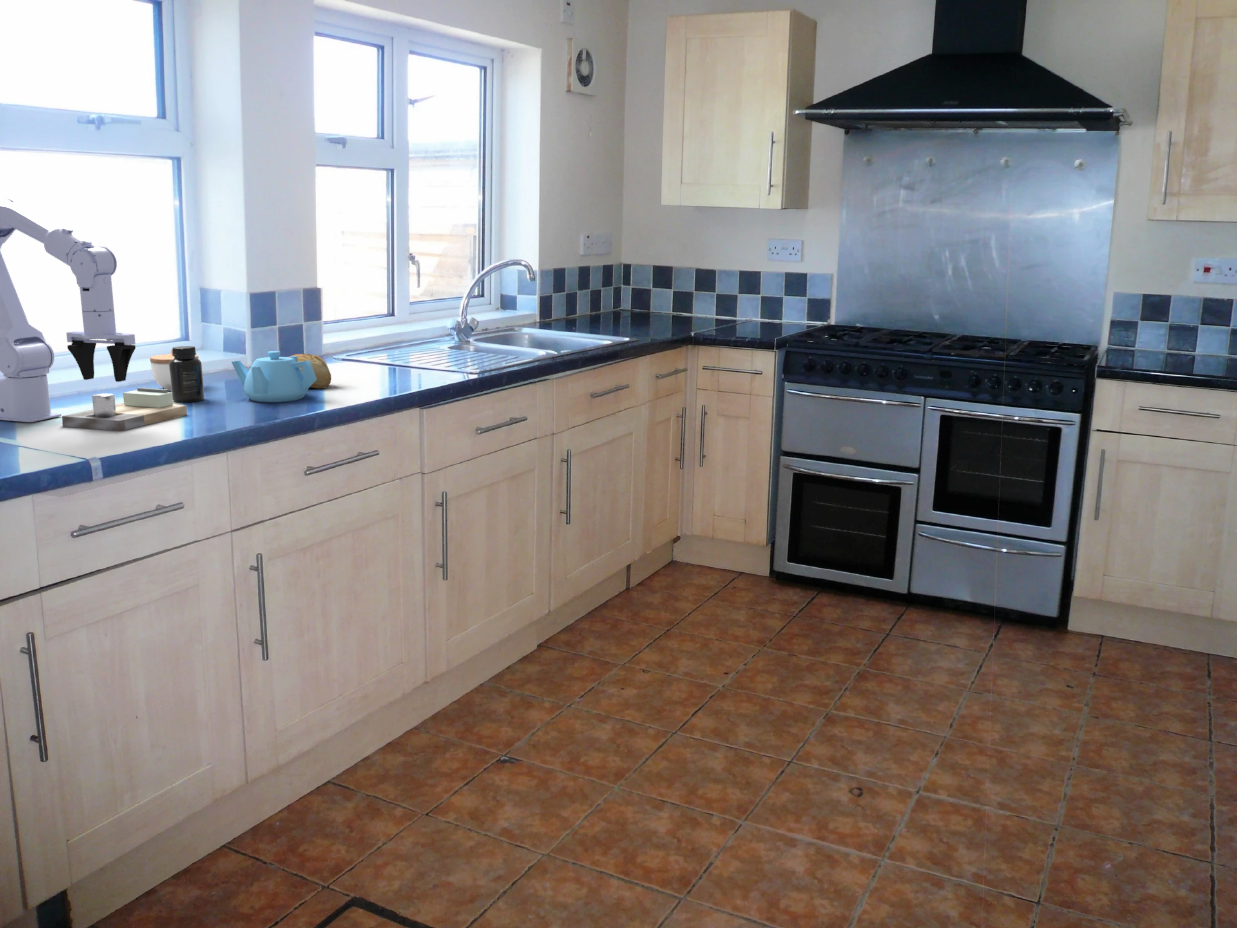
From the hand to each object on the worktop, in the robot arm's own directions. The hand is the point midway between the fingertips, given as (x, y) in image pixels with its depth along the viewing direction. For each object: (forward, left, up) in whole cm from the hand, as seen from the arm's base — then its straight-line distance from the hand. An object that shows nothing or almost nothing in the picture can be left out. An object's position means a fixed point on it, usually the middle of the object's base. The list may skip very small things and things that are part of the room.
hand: (104, 380), depth 220 cm
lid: (0, +11, -7) cm, 13 cm away
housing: (0, +5, -9) cm, 10 cm away
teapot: (+11, +39, -9) cm, 42 cm away
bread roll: (+7, +56, -9) cm, 57 cm away
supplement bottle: (-5, +29, -9) cm, 31 cm away
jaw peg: (0, -1, -9) cm, 9 cm away
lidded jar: (-19, +42, -9) cm, 47 cm away
